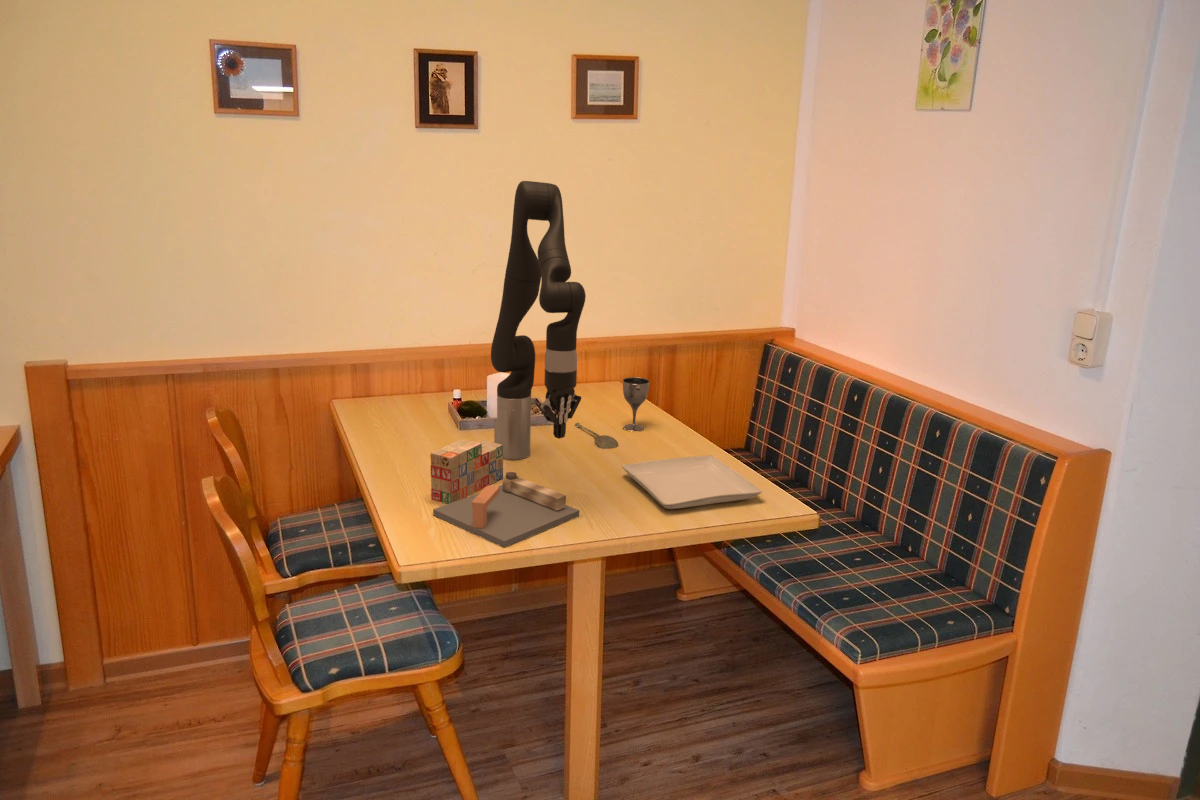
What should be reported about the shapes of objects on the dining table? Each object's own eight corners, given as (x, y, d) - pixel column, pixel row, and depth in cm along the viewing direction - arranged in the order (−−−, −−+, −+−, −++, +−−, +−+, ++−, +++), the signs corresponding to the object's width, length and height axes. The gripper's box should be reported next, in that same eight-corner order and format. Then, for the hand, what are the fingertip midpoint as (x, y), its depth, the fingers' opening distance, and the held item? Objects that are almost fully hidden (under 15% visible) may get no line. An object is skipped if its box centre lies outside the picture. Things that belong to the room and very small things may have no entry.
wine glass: (651, 427, 283) (654, 380, 279) (638, 433, 277) (640, 385, 272) (629, 422, 287) (631, 375, 283) (615, 428, 281) (617, 380, 277)
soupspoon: (601, 454, 262) (621, 452, 265) (602, 443, 261) (623, 441, 264) (567, 428, 280) (586, 426, 283) (568, 418, 279) (587, 416, 282)
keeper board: (432, 515, 214) (432, 485, 212) (508, 488, 232) (508, 460, 230) (504, 547, 199) (504, 515, 197) (579, 516, 217) (580, 486, 215)
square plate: (619, 477, 243) (619, 463, 242) (711, 466, 253) (712, 453, 252) (663, 517, 219) (664, 502, 218) (763, 504, 229) (764, 489, 228)
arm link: (499, 488, 226) (499, 473, 225) (511, 484, 229) (511, 469, 228) (555, 511, 215) (555, 495, 214) (567, 506, 218) (567, 490, 216)
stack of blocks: (483, 473, 241) (483, 428, 238) (503, 478, 238) (503, 433, 235) (430, 500, 223) (430, 451, 220) (451, 505, 220) (450, 457, 217)
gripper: (568, 359, 223) (566, 427, 228) (529, 368, 213) (528, 439, 218) (591, 365, 218) (589, 434, 223) (552, 375, 209) (551, 447, 214)
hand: (559, 437), depth 221 cm, fingers closed
